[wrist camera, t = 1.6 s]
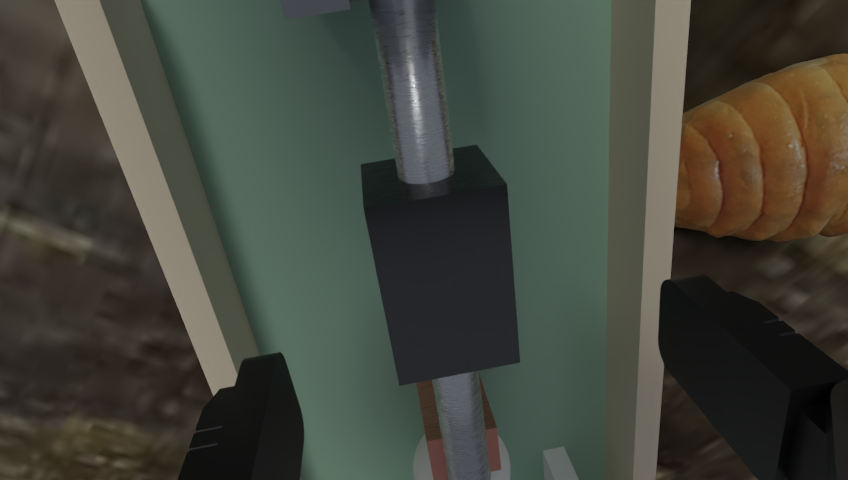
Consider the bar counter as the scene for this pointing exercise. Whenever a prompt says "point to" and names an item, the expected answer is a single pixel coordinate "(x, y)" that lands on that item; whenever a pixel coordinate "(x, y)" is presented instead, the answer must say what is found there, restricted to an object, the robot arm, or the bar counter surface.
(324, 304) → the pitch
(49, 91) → the bar counter surface
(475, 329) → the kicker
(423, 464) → the ball
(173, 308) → the bar counter surface
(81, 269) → the bar counter surface
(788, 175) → the pastry
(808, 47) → the bar counter surface
